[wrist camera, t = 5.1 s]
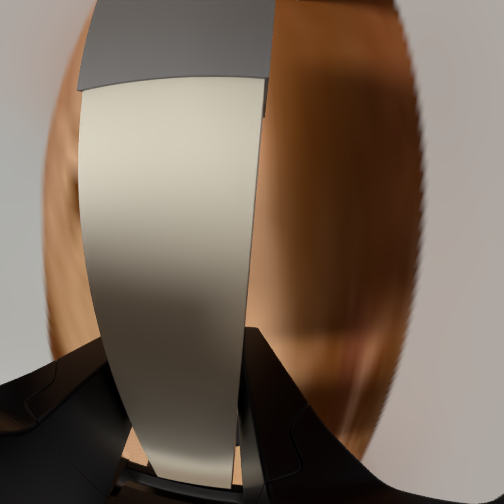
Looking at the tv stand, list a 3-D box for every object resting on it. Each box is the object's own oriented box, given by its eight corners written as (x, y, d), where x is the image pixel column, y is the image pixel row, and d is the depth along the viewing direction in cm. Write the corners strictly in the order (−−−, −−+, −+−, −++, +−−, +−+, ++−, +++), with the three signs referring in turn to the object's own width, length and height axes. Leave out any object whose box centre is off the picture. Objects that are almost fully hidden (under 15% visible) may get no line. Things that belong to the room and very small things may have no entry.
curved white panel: (238, 408, 11) (231, 491, 7) (177, 400, 11) (155, 478, 7) (272, 23, 6) (281, -69, 2) (177, 23, 6) (118, -51, 2)
